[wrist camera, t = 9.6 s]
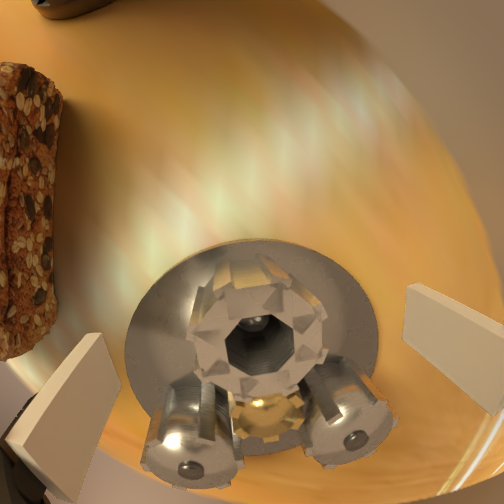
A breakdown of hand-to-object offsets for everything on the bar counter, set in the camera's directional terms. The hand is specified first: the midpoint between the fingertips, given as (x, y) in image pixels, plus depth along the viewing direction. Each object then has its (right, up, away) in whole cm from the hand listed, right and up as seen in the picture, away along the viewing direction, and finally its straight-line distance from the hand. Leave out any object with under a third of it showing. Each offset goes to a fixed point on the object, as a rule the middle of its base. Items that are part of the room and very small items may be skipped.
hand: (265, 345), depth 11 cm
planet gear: (-1, 0, +8) cm, 8 cm away
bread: (-20, +7, +6) cm, 22 cm away
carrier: (0, -5, +10) cm, 11 cm away
